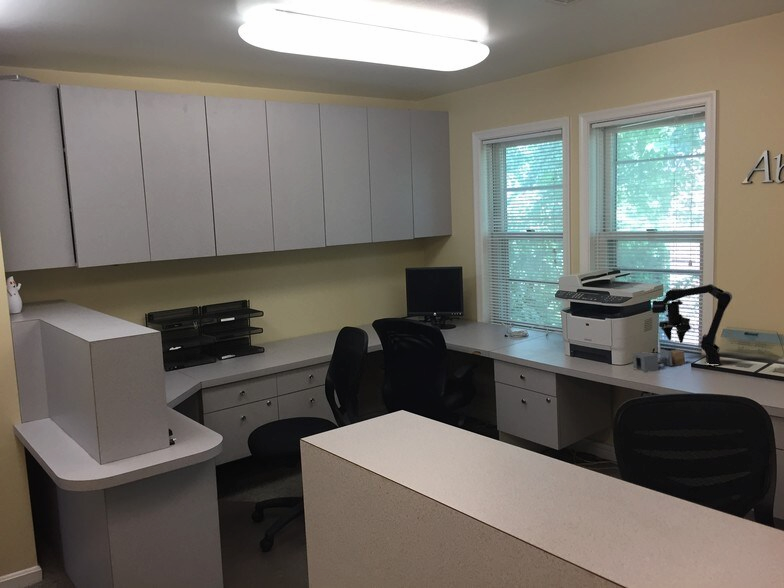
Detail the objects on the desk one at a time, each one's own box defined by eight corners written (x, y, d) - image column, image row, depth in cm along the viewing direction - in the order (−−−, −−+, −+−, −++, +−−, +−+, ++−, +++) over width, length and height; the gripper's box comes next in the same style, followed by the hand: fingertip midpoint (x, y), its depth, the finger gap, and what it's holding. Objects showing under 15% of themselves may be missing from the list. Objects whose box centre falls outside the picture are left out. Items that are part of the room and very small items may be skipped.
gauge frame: (675, 367, 339) (673, 351, 338) (645, 372, 335) (643, 357, 334) (658, 362, 352) (657, 348, 351) (629, 367, 348) (628, 353, 347)
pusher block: (684, 364, 343) (684, 351, 343) (675, 365, 342) (674, 353, 341) (678, 362, 348) (677, 349, 347) (669, 364, 347) (668, 351, 346)
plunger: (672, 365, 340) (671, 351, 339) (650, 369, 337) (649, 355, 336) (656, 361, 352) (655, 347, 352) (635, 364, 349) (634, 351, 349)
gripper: (698, 312, 335) (700, 341, 337) (675, 309, 353) (677, 337, 355) (680, 315, 333) (682, 344, 334) (657, 311, 351) (659, 339, 352)
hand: (675, 341), depth 344 cm, fingers open, 9 cm apart
